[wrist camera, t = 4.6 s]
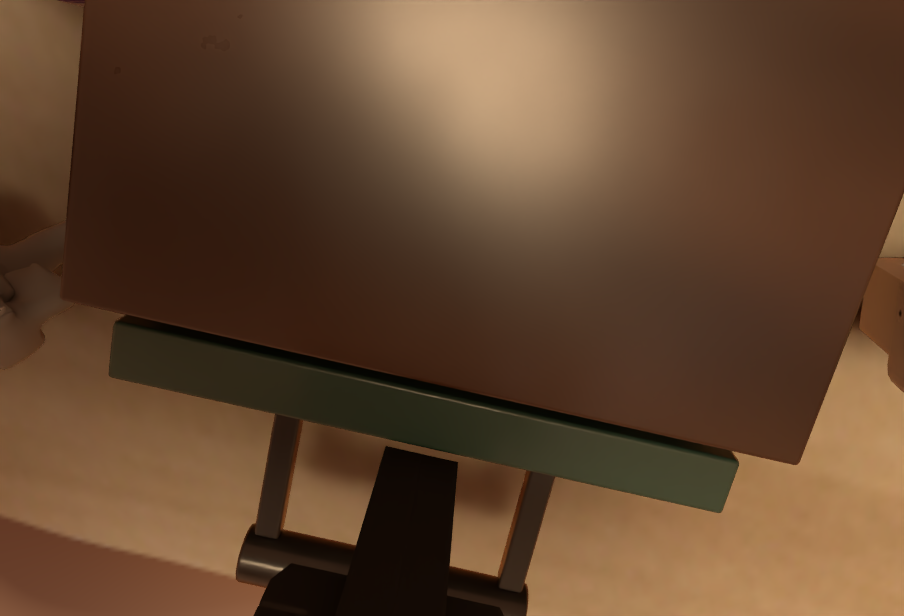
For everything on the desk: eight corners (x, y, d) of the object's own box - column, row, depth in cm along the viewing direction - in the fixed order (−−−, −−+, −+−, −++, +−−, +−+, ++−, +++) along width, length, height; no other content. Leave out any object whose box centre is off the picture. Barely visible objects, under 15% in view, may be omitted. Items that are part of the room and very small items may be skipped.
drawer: (595, 559, 23) (639, 741, 16) (196, 470, 23) (80, 620, 16) (829, -178, 18) (1035, -342, 11) (308, -303, 17) (202, -548, 11)
